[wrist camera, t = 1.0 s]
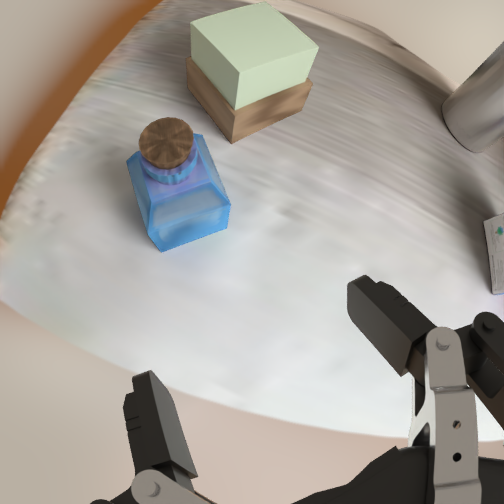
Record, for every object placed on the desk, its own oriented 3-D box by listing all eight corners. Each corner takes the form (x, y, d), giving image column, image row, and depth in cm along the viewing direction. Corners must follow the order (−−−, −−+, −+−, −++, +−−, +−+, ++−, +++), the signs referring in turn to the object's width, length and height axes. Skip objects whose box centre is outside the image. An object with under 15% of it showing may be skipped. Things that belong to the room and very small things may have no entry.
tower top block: (258, 35, 28) (265, 1, 23) (305, 81, 27) (319, 47, 22) (191, 59, 26) (190, 22, 22) (234, 110, 26) (239, 72, 21)
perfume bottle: (141, 191, 28) (105, 118, 16) (203, 169, 29) (201, 87, 18) (161, 252, 27) (127, 206, 16) (226, 228, 28) (237, 167, 17)
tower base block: (254, 61, 33) (260, 32, 28) (300, 111, 32) (313, 83, 27) (187, 88, 31) (185, 58, 26) (231, 145, 30) (234, 116, 26)
